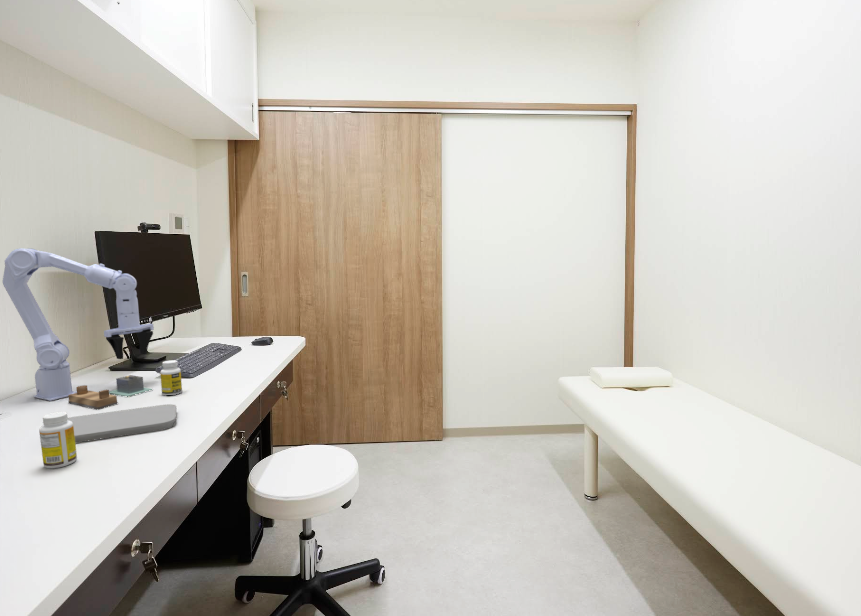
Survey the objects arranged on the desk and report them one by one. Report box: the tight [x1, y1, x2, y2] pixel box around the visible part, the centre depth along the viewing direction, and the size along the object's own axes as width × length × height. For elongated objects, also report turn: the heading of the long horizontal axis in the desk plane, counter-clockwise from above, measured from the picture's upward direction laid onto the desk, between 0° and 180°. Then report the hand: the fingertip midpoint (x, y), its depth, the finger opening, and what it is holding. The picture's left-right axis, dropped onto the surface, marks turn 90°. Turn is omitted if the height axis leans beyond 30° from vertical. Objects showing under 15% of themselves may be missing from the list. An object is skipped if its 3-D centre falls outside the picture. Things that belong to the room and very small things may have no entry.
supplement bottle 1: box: [39, 411, 78, 469], centre depth 103 cm, size 6×6×10 cm
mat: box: [109, 387, 153, 398], centre depth 156 cm, size 10×8×1 cm
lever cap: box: [115, 374, 145, 394], centre depth 155 cm, size 6×4×5 cm
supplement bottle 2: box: [159, 359, 183, 396], centre depth 152 cm, size 5×5×10 cm
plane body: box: [68, 384, 119, 410], centre depth 144 cm, size 14×6×4 cm, turn 62°
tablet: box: [68, 403, 178, 444], centre depth 125 cm, size 16×26×2 cm, turn 115°
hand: (132, 356), depth 160 cm, fingers open, 7 cm apart
